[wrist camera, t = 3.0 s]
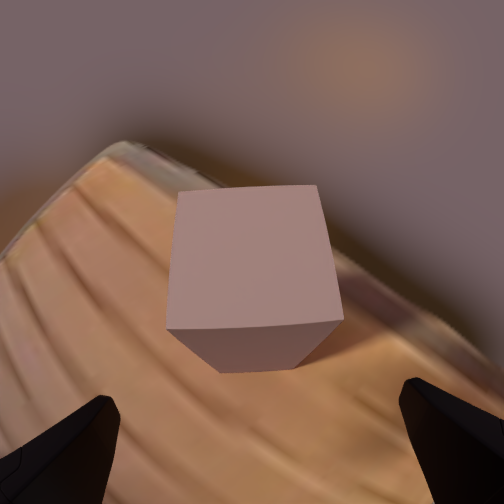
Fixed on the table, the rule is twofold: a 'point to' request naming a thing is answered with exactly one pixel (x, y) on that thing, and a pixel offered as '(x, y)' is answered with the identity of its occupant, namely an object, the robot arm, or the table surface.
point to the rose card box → (252, 277)
